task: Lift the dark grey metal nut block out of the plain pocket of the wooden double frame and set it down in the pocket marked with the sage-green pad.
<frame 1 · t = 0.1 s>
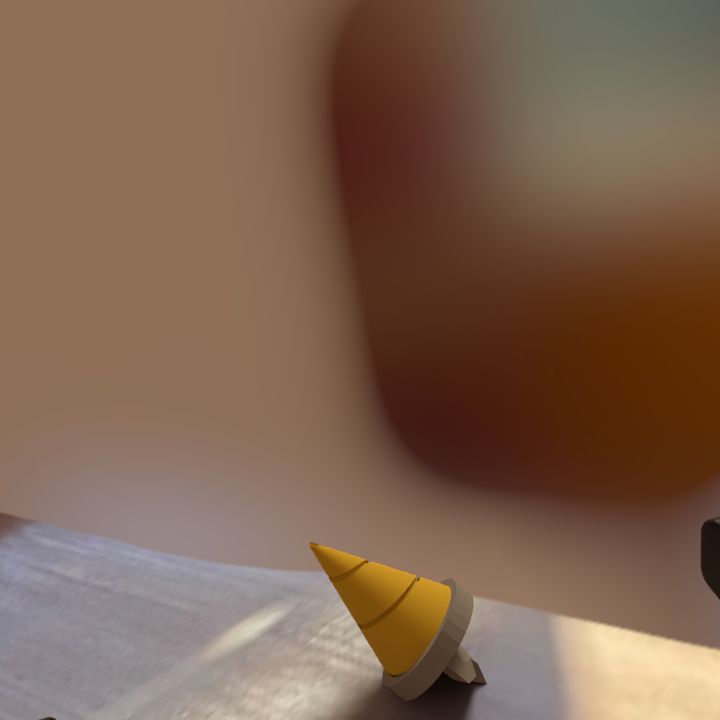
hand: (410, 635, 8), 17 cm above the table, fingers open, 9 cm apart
yellow and grey cone: (412, 684, 27), on the table
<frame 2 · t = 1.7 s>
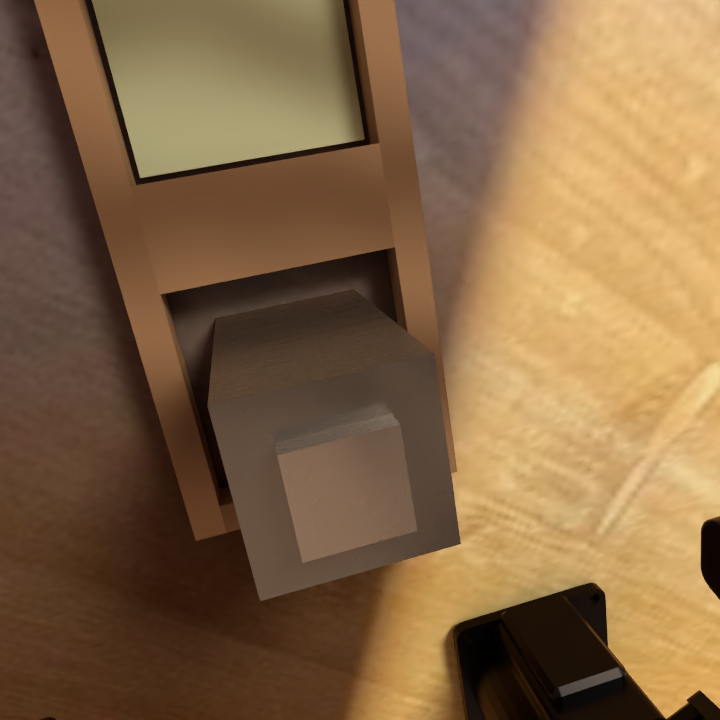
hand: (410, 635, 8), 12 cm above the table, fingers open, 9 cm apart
wooden double frame: (267, 216, 18), on the table
nut block: (299, 369, 20), resting in wooden double frame
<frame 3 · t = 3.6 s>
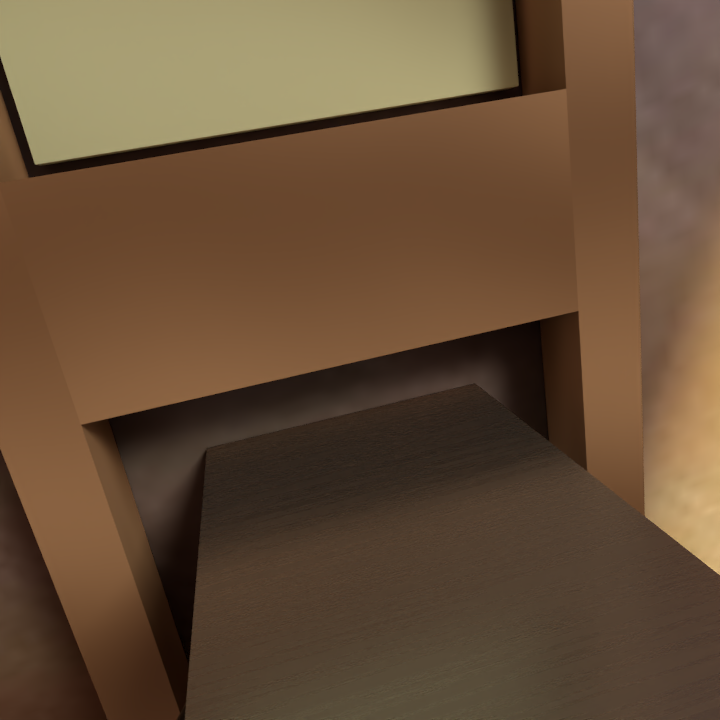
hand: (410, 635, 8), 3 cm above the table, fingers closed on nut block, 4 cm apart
wooden double frame: (313, 246, 9), on the table
nut block: (368, 532, 10), resting in wooden double frame, touching gripper
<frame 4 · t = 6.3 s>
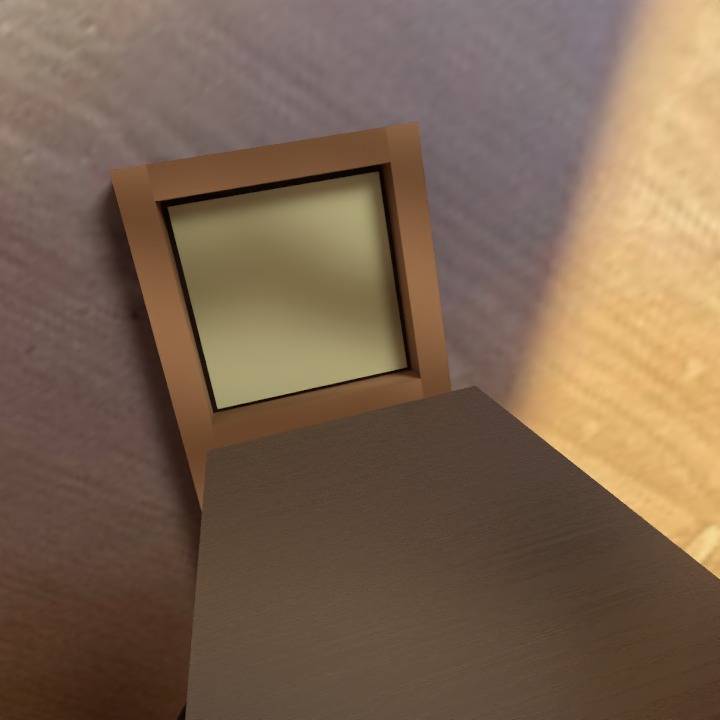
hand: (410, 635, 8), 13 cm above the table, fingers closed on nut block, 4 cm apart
wooden double frame: (322, 429, 21), on the table
nut block: (368, 534, 10), point 11 cm above the table, touching gripper
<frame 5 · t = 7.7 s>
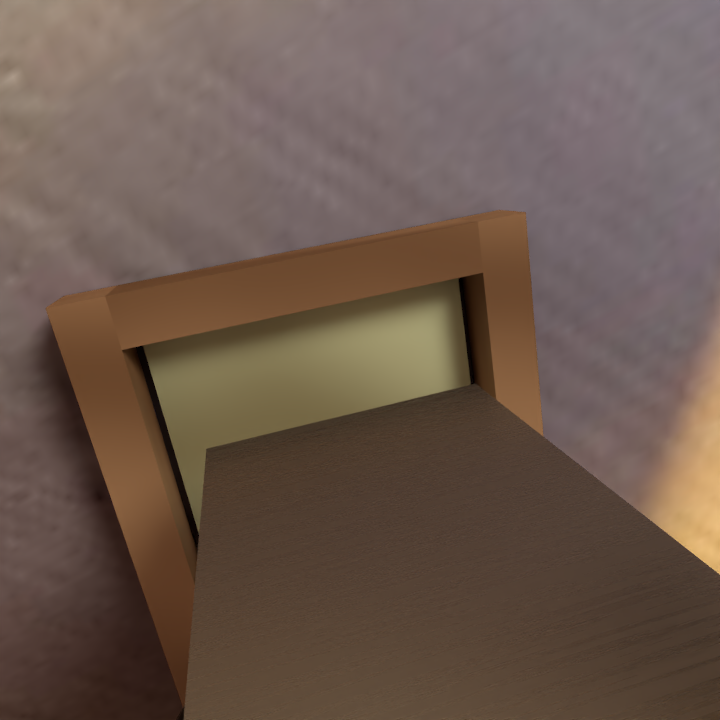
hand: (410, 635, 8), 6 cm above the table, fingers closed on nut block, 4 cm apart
wooden double frame: (369, 623, 15), on the table
nut block: (368, 532, 10), point 3 cm above the table, touching gripper
when the fingers open (4 cm above the table, at t = 8.9 s): nut block drops 1 cm, resting on wooden double frame.
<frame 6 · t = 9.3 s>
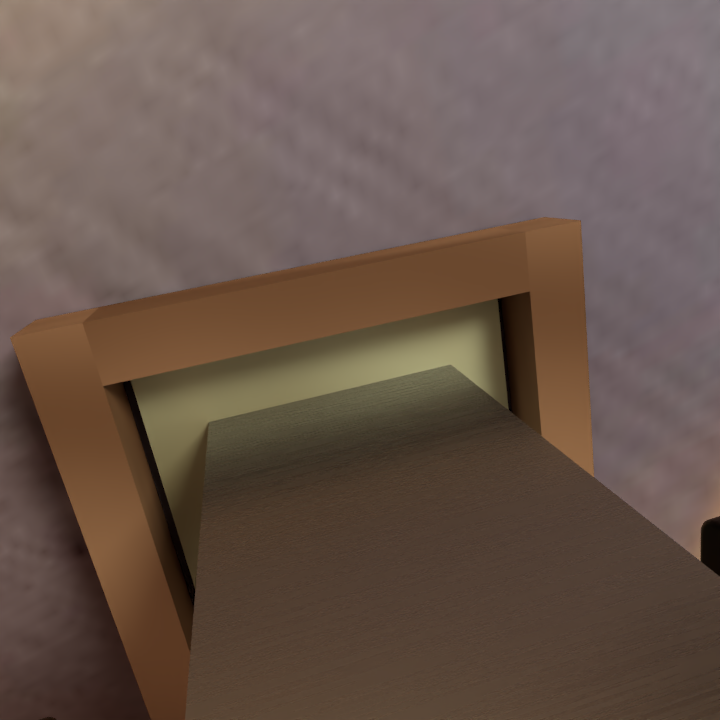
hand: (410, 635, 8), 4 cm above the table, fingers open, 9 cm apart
wooden double frame: (389, 685, 13), on the table
nut block: (354, 499, 11), resting on wooden double frame
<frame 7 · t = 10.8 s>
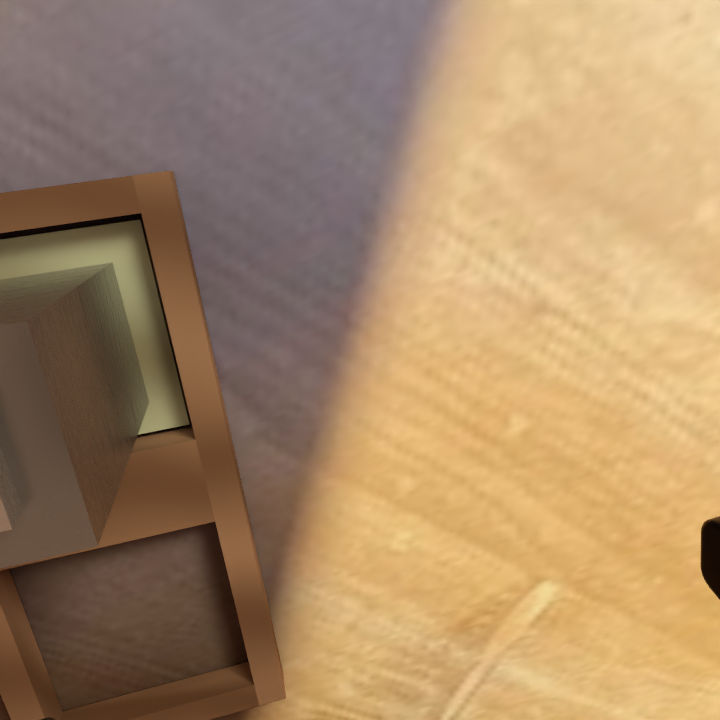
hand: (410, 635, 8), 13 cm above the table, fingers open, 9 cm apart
wooden double frame: (100, 487, 20), on the table
nut block: (54, 348, 18), resting on wooden double frame
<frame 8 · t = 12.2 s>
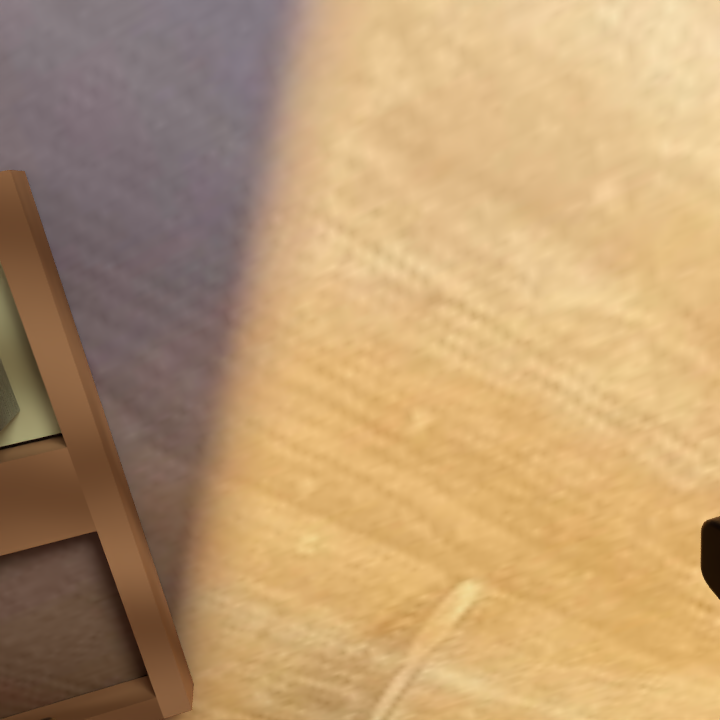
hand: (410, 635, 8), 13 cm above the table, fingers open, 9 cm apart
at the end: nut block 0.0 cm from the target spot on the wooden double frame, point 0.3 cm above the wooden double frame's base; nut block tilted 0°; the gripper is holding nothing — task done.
